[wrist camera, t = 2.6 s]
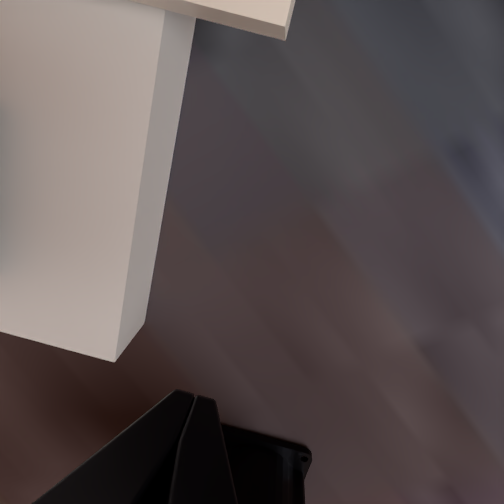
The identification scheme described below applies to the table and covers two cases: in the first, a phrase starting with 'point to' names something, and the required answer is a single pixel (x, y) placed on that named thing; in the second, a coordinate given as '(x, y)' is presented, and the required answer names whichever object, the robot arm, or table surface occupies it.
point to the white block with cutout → (85, 165)
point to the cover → (236, 13)
